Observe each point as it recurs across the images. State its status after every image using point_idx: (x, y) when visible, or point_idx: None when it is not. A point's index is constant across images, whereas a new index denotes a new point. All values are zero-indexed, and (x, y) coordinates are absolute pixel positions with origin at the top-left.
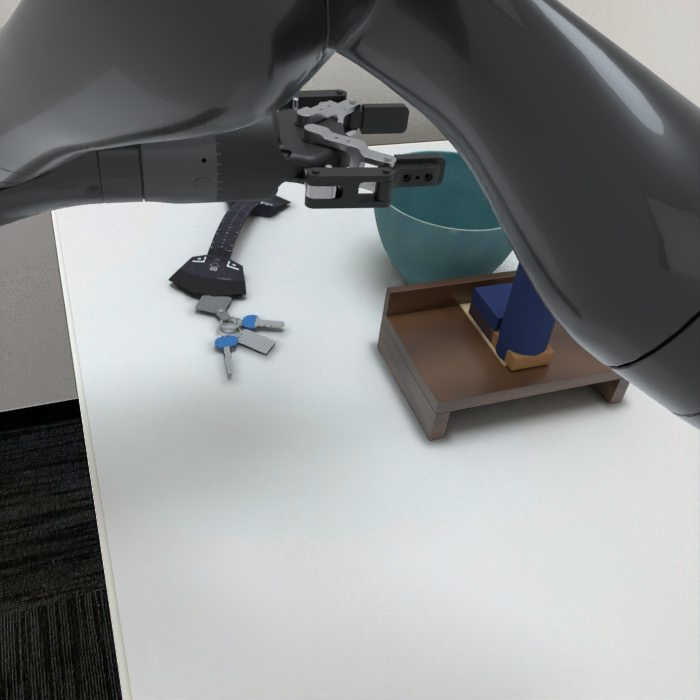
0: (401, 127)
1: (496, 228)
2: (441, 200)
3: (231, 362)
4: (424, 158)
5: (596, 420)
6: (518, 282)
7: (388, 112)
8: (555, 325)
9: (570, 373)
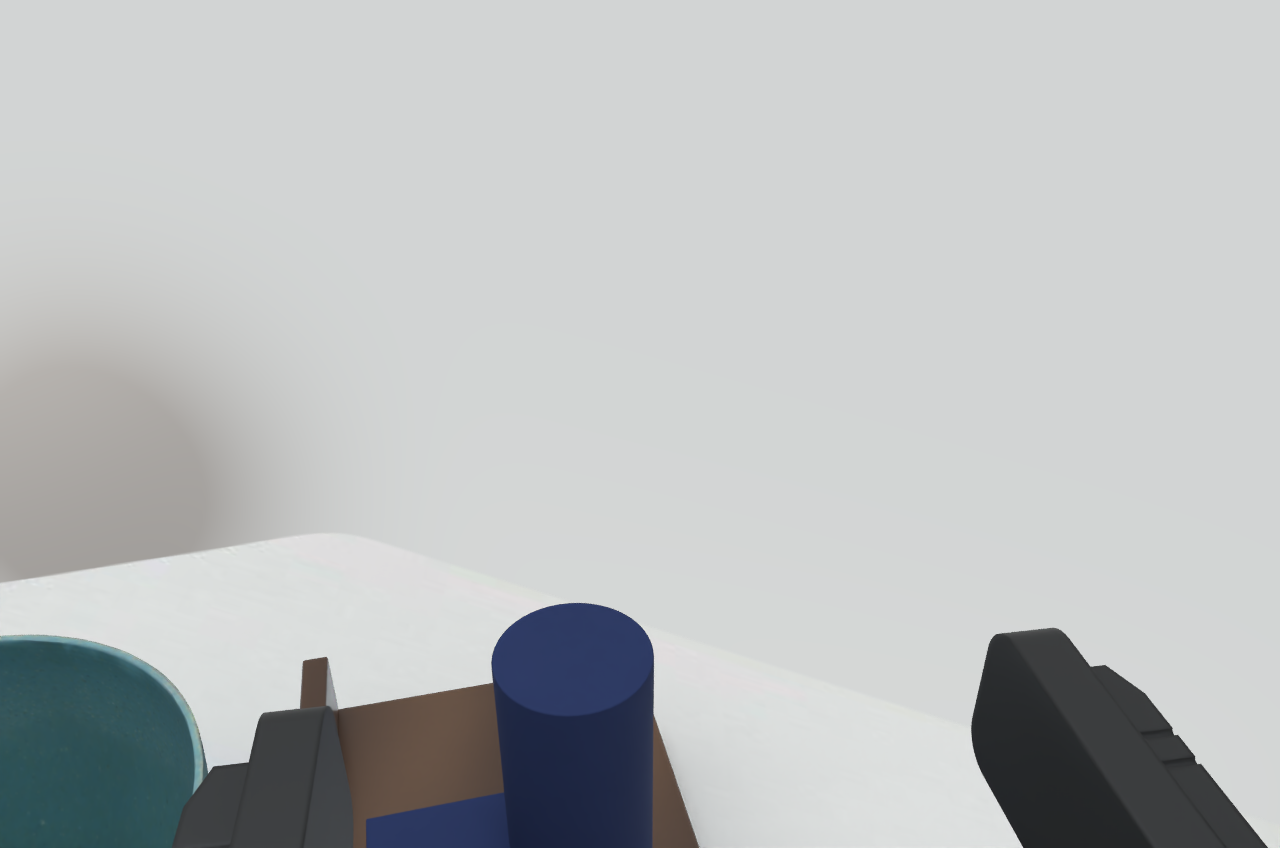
0: (347, 823)
1: (199, 775)
2: None
3: None
4: (1119, 714)
5: (694, 800)
6: (587, 771)
7: (314, 843)
8: (475, 774)
9: (665, 791)
